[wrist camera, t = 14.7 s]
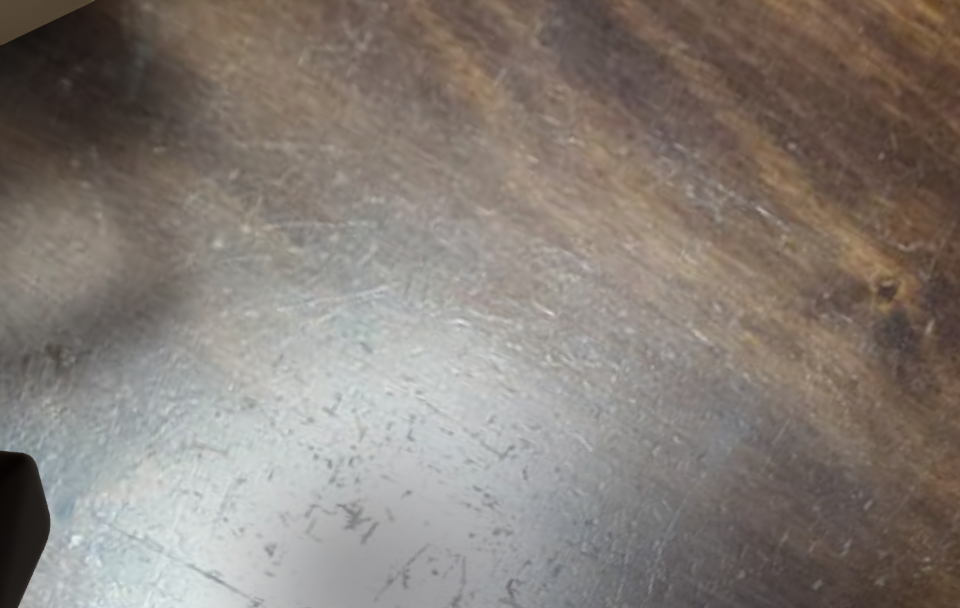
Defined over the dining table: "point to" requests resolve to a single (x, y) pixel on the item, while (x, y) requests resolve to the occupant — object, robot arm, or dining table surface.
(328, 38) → the dining table surface
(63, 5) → the drawer
